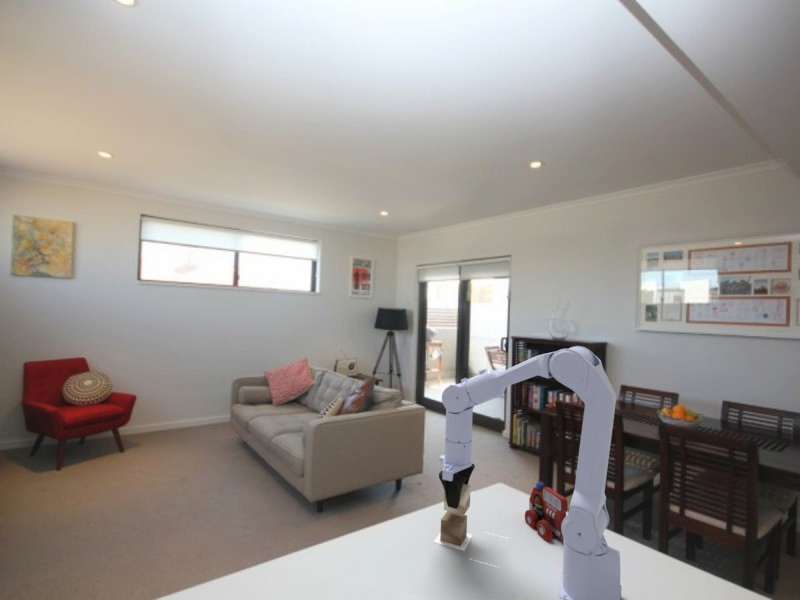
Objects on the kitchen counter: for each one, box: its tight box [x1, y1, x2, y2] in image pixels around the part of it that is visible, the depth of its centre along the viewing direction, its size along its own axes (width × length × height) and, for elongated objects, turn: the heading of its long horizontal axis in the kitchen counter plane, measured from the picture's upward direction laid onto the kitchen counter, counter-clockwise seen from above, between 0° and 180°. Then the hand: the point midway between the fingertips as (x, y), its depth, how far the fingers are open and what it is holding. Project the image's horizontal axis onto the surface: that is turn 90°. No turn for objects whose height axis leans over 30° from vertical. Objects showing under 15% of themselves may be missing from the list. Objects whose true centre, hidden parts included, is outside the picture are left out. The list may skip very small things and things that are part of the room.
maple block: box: [443, 484, 472, 515], centre depth 90 cm, size 4×4×4 cm
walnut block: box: [440, 511, 468, 546], centre depth 90 cm, size 4×4×4 cm
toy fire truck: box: [524, 481, 569, 542], centre depth 95 cm, size 7×12×10 cm, turn 15°
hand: (456, 502), depth 90 cm, fingers closed on maple block, 4 cm apart
